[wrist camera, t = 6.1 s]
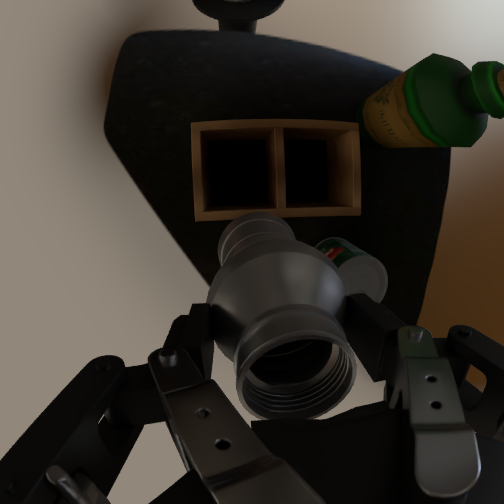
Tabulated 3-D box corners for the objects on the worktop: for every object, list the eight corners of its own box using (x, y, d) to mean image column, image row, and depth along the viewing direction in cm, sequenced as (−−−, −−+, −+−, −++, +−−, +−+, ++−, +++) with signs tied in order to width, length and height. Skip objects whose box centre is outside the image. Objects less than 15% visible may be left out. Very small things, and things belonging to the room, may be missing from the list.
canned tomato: (306, 240, 43) (328, 260, 32) (354, 233, 43) (388, 250, 32) (310, 290, 45) (331, 321, 34) (356, 281, 45) (387, 309, 34)
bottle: (336, 100, 38) (455, 22, 11) (389, 86, 38) (513, 29, 10) (363, 164, 41) (509, 160, 13) (413, 145, 40) (553, 135, 13)
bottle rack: (201, 136, 39) (190, 122, 29) (332, 134, 39) (358, 123, 30) (204, 211, 41) (195, 221, 32) (334, 207, 42) (361, 215, 32)
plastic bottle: (207, 229, 27) (139, 346, 7) (273, 196, 26) (370, 238, 7) (238, 287, 28) (244, 466, 9) (302, 257, 28) (411, 396, 8)
